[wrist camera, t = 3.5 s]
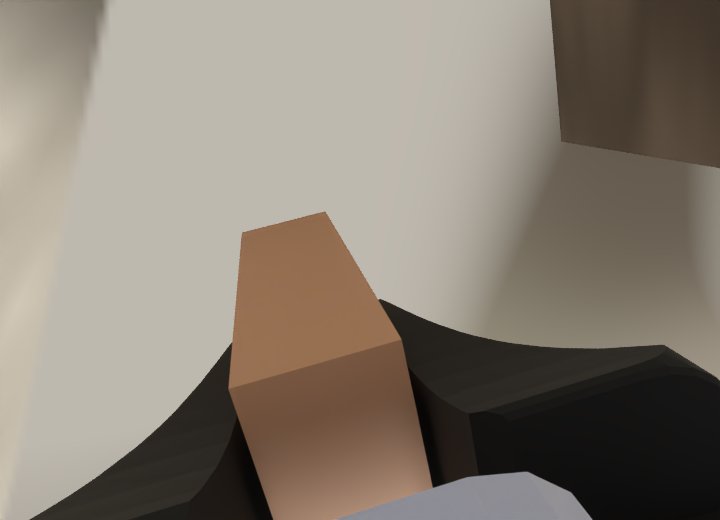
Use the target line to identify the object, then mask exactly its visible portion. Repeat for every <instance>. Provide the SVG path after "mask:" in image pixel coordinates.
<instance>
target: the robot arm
mask: <svg viewBox="0 0 720 520" xmlns="http://www.w3.org/2000/svg"><path fill="white" fill-rule="evenodd" d="M378 301H379V302H380V304H381V306H382V307H383V309H384V311H385V312H386V314H387V316H388V317H389V319H390V321H391V322H392V324H393V326H394V327H395V329H396V331H397V332H398V334H399V336H400V338H401V339H402V344H403V348H404V353H405V358H406V363H407V367H408V372H409V377H410V382H411V386H412V391H413V396H414V401H415V405H416V410H417V415H418V420H419V424H420V429H421V434H422V439H423V444H424V448H425V453H426V458H427V463H428V467H429V472H430V477H431V482H432V486H433V488H432V489H429V490H426V491H422V492H419V493H416V494H413V495H410V496H407V497H404V498H401V499H397V500H394V501H391V502H388V503H385V504H382V505H379V506H375V507H372V508H369V509H366V510H363V511H360V512H357V513H354V514H350V515H347V516H344V517H341V518H338V519H335V520H720V381H719V380H718V379H717V378H716V377H715V376H713V375H712V374H710V373H708V372H707V371H705V370H704V369H702V368H700V367H699V366H697V365H696V364H694V363H692V362H690V361H689V360H688V359H686V358H684V357H683V356H681V355H680V354H678V353H676V352H675V351H673V350H671V349H670V348H668V347H666V346H665V345H653V346H637V347H621V348H605V349H583V348H551V347H539V346H530V345H522V344H513V343H507V342H501V341H496V340H491V339H487V338H482V337H478V336H473V335H469V334H466V333H462V332H459V331H456V330H453V329H450V328H447V327H444V326H441V325H438V324H436V323H433V322H431V321H428V320H426V319H423V318H421V317H418V316H416V315H414V314H412V313H410V312H407V311H405V310H403V309H401V308H399V307H397V306H395V305H393V304H391V303H388V302H386V301H384V300H381V299H379V300H378ZM231 354H232V343H231V344H230V345H229V347H228V348H227V349H226V351H225V352H224V353H223V355H222V356H221V357H220V359H219V360H218V361H217V363H216V364H215V365H214V366H213V368H212V369H211V370H210V372H209V373H208V374H207V375H206V377H205V378H204V379H203V380H202V382H201V383H200V384H199V385H198V386H197V387H196V389H195V390H194V391H193V392H192V393H191V394H190V395H189V396H188V398H187V399H186V400H185V401H184V402H183V403H182V404H181V405H180V407H179V408H178V409H177V410H176V411H175V412H174V413H173V414H172V415H171V416H170V417H169V418H168V419H167V420H166V421H165V422H164V423H163V424H162V425H161V426H160V427H159V428H157V429H156V430H155V431H154V432H153V433H152V434H151V435H150V436H149V437H147V438H146V439H145V440H144V441H143V442H142V443H141V444H139V445H138V446H137V447H136V448H135V449H133V450H132V451H131V452H129V453H128V454H127V455H126V456H124V457H123V458H121V459H120V460H119V461H118V462H116V463H115V464H114V465H113V466H111V467H110V468H108V469H107V470H106V471H104V472H103V473H102V474H101V475H100V476H98V477H96V478H95V479H93V480H92V481H91V482H89V483H88V484H86V485H85V486H83V487H82V488H80V489H79V490H77V491H76V492H74V493H73V494H71V495H70V496H68V497H66V498H65V499H63V500H61V501H60V502H58V503H57V504H56V505H53V506H52V507H50V508H49V509H47V510H46V511H44V512H42V513H40V514H39V515H37V516H35V517H34V518H32V519H30V520H273V517H272V514H271V511H270V508H269V506H268V503H267V500H266V497H265V494H264V491H263V488H262V485H261V482H260V479H259V476H258V474H257V471H256V468H255V465H254V462H253V459H252V456H251V453H250V450H249V447H248V444H247V442H246V439H245V436H244V433H243V430H242V427H241V424H240V421H239V418H238V415H237V412H236V410H235V407H234V404H233V401H232V398H231V395H230V392H229V389H228V388H229V377H230V365H231Z"/></svg>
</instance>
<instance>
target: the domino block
mask: <svg viewBox="0 0 720 520" xmlns="http://www.w3.org/2000/svg"><path fill="white" fill-rule="evenodd" d="M550 5H551V6H550V7H551V18H552V31H553V43H554V55H555V68H556V80H557V92H558V105H559V116H560V129H561V141H562V142H567V143H573V144H579V145H585V146H592V147H597V148H603V149H609V150H615V151H622V152H627V153H633V154H639V155H645V156H652V157H657V158H663V159H669V160H675V161H681V162H687V163H693V164H699V165H705V166H711V167H717V168H720V0H550Z"/></svg>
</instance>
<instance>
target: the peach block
mask: <svg viewBox="0 0 720 520" xmlns="http://www.w3.org/2000/svg"><path fill="white" fill-rule="evenodd" d="M228 389H229V392H230V395H231V398H232V401H233V404H234V407H235V410H236V412H237V415H238V418H239V421H240V424H241V427H242V430H243V433H244V436H245V439H246V442H247V444H248V447H249V450H250V453H251V456H252V459H253V462H254V465H255V468H256V471H257V474H258V476H259V479H260V482H261V485H262V488H263V491H264V494H265V497H266V500H267V503H268V506H269V508H270V511H271V514H272V517H273V520H335V519H338V518H341V517H344V516H347V515H350V514H354V513H357V512H360V511H363V510H366V509H369V508H372V507H375V506H379V505H382V504H385V503H388V502H391V501H394V500H397V499H401V498H404V497H407V496H410V495H413V494H416V493H419V492H422V491H426V490H429V489H432V488H433V486H432V482H431V477H430V472H429V467H428V463H427V458H426V453H425V448H424V444H423V439H422V434H421V429H420V424H419V420H418V415H417V410H416V405H415V401H414V396H413V391H412V386H411V382H410V377H409V372H408V367H407V363H406V358H405V353H404V348H403V344H402V339H401V338H400V336H399V334H398V332H397V331H396V329H395V327H394V326H393V324H392V322H391V321H390V319H389V317H388V316H387V314H386V312H385V311H384V309H383V307H382V306H381V304H380V302H379V301H378V299H377V298H376V296H375V294H374V292H373V291H372V289H371V288H370V286H369V284H368V282H367V281H366V279H365V277H364V276H363V274H362V272H361V271H360V269H359V267H358V266H357V264H356V262H355V261H354V259H353V257H352V255H351V254H350V252H349V251H348V249H347V247H346V245H345V244H344V242H343V240H342V239H341V237H340V235H339V234H338V232H337V230H336V229H335V227H334V225H333V224H332V222H331V220H330V219H329V217H328V215H327V214H326V212H322V213H318V214H314V215H310V216H306V217H302V218H298V219H294V220H290V221H286V222H283V223H279V224H275V225H271V226H267V227H263V228H259V229H255V230H251V231H247V232H243V233H242V239H241V251H240V262H239V273H238V285H237V297H236V308H235V320H234V331H233V342H232V354H231V365H230V377H229V388H228Z"/></svg>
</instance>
